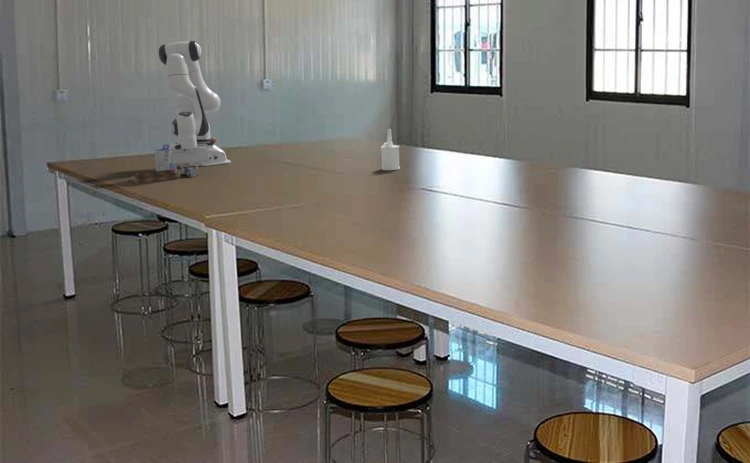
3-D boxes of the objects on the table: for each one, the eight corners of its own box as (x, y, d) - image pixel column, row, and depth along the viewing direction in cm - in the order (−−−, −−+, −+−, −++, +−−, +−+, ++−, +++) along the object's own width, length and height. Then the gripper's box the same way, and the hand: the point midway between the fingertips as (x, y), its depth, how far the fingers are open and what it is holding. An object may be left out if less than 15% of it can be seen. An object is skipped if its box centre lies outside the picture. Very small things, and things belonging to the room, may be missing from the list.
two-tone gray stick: (183, 174, 464) (182, 165, 463) (190, 173, 465) (189, 164, 464) (190, 177, 451) (189, 168, 450) (197, 176, 453) (197, 168, 452)
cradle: (174, 175, 459) (174, 168, 458) (180, 178, 448) (180, 171, 448) (130, 179, 450) (130, 172, 449) (135, 183, 439) (135, 175, 438)
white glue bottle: (403, 169, 453) (402, 129, 449) (387, 171, 449) (386, 130, 444) (392, 166, 462) (391, 127, 458) (376, 168, 457) (375, 129, 453)
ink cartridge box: (177, 172, 470) (175, 144, 467) (170, 174, 465) (168, 145, 462) (163, 171, 475) (160, 144, 472) (155, 173, 470) (153, 145, 467)
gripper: (206, 142, 462) (208, 169, 465) (166, 145, 454) (168, 173, 457) (209, 143, 457) (211, 170, 460) (169, 146, 448) (171, 174, 451)
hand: (190, 171), depth 458 cm, fingers open, 5 cm apart
